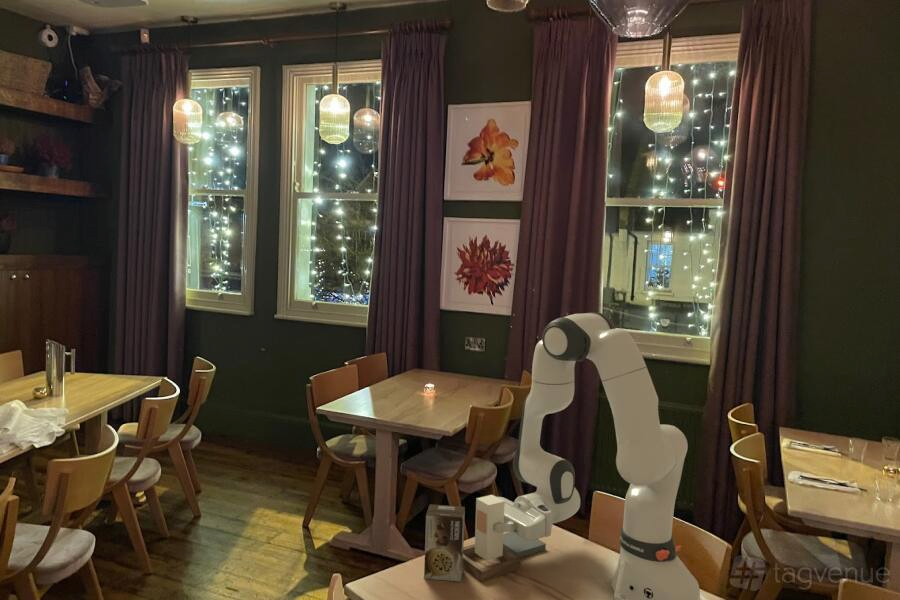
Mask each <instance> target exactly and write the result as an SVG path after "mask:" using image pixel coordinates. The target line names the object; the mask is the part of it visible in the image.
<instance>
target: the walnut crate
mask: <svg viewBox="0 0 900 600" xmlns="http://www.w3.org/2000/svg"><path fill="white" fill-rule="evenodd" d="M476 556H479V555H478V554H476V553H475V543H474V544H470V545H466V546H463V569H464V570H465V571H466V572H468V573H469V574H470V575H472V576H473V577H474V578H476V579H477V580H479V581H480V582H485V581H488V580H491V579H495V578H498V577H500V576H502V575H506V574H510V573H512V572H515V571H518V570H521V562H522V560H521V557H519V558H518V557H516V556H515V555H513V554H512V553H510V552H509V551H507V550H506V549H504V548H503V556H500V557H497V559H499V560H501V561H502V562H499V563H498V562H497V563H495V564H493V565H490V566H486V567H482V566H480V565H479V564H477V562H475V561H473V560H472V559H471V558H473V557H476Z"/></svg>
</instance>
